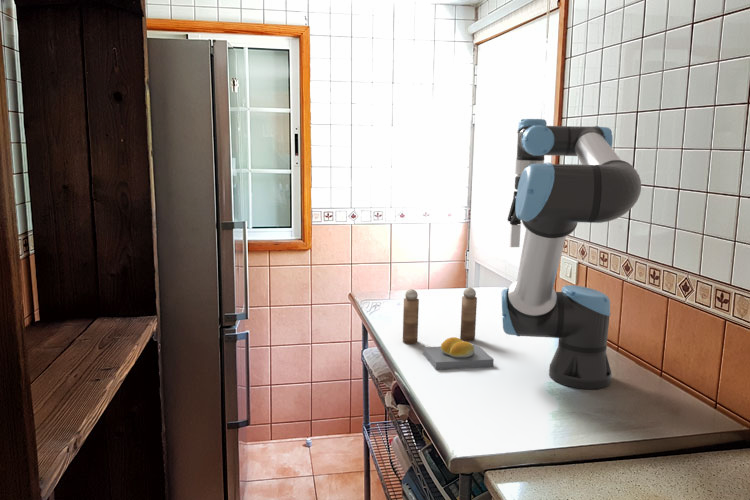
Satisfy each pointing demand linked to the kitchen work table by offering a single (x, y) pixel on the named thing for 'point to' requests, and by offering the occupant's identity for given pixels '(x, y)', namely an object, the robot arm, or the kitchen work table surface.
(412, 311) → the mill left
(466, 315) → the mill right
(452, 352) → the bread roll
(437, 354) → the slate board
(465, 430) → the kitchen work table surface
